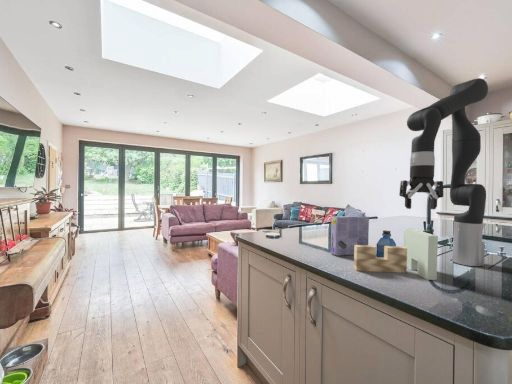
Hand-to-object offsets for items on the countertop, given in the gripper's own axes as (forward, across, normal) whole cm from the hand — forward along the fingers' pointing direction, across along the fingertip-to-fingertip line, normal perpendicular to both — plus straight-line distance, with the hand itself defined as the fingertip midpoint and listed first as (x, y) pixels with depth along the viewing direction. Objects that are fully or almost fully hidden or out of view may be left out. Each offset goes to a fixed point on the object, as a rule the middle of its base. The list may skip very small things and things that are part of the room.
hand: (420, 208), depth 93 cm
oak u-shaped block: (+24, +14, 0) cm, 27 cm away
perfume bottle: (+24, +4, -18) cm, 30 cm away
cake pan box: (+24, +18, -23) cm, 38 cm away
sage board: (+24, 0, 0) cm, 24 cm away
